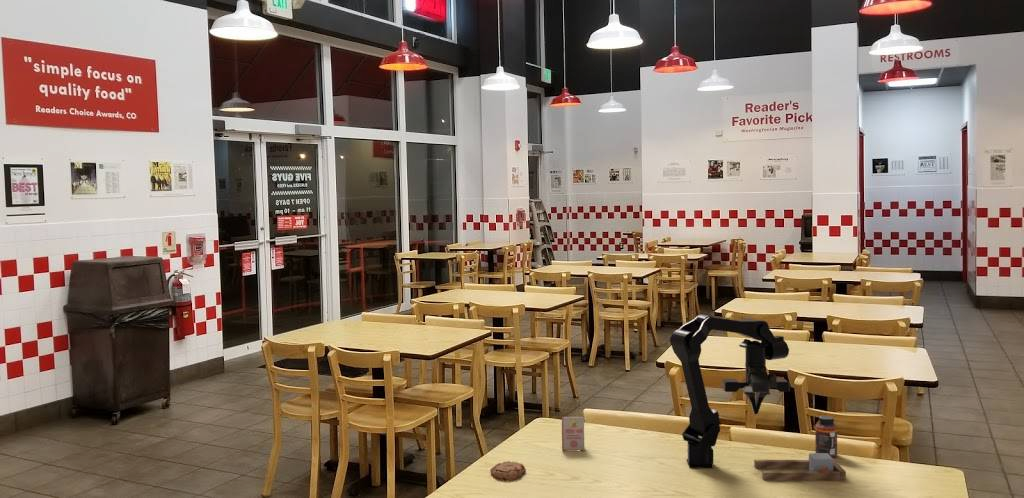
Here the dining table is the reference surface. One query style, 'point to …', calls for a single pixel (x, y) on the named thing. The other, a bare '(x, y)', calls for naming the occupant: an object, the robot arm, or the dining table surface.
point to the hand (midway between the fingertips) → (755, 413)
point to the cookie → (508, 470)
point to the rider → (820, 461)
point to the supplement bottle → (826, 436)
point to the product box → (572, 433)
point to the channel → (820, 475)
